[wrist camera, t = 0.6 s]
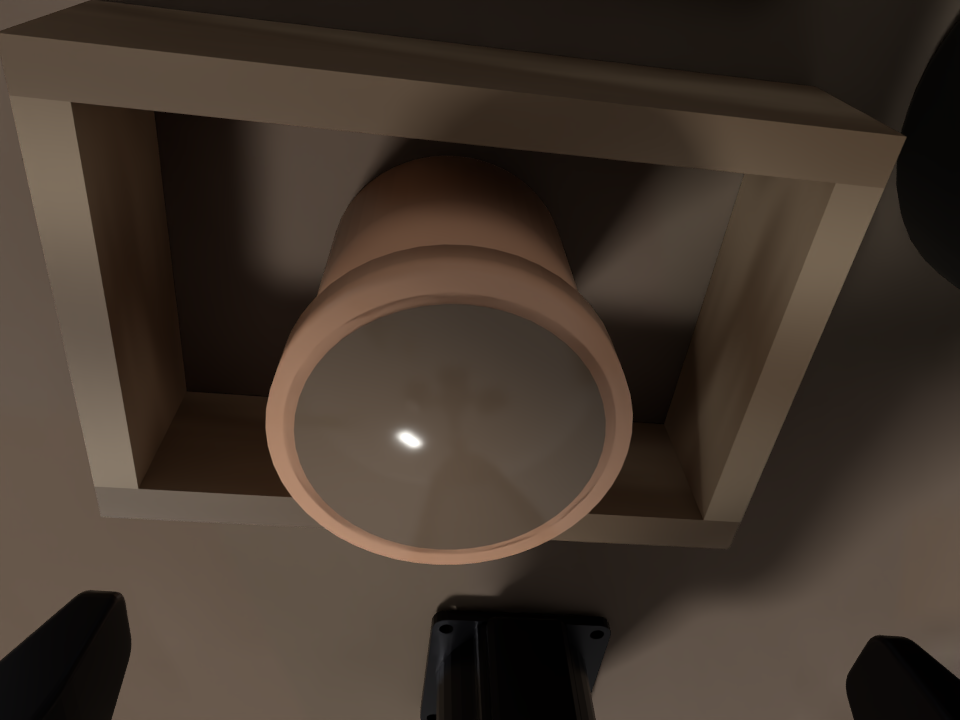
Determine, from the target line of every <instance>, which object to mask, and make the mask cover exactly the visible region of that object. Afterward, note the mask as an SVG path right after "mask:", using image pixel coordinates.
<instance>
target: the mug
mask: <svg viewBox="0 0 960 720" xmlns="http://www.w3.org/2000/svg"><path fill="white" fill-rule="evenodd" d="M901 134H903V135H905V136H906V140H905V142H904V144H903V147H902V149H901V151H900V154H899V156H898V158H897V174H896V186H897V192H898V198H899V204H900V210H901V214H902V218H903V222H904V224H905V227H906V229H907V232H908V235H909V237H910V240H911V241H912V243H913V244H914V246H915V247H916V249H917V250H918V252H919V253H920V254H921V256H922V257H923V258H924V259H925V260H926V261H927V262H928V263H929V264H930V265H931V266H932V267H933V268H934V269H935V270H936V271H937V272H938V273H939V274H941V275H942V276H943V277H944V278H946V279H947V280H948V281H950V282H951V283H952V284H953V285H955V286H956V287H957V288H958V289H960V20H959V21H958V22H957V23H956V24H955V26H954V27H953V28H952V30H951V31H950V32H949V34H948V35H947V37H946V38H945V39H944V41H943V43H942V44H941V46H940V47H939V49H938V50H937V52H936V54H935V55H934V57H933V58H932V60H931V61H930V63H929V65H928V66H927V68H926V70H925V72H924V75H923V77H922V79H921V81H920V83H919V85H918V87H917V89H916V91H915V93H914V96H913V98H912V101H911V103H910V106H909V109H908V112H907V115H906V118H905V121H904V124H903V127H902V132H901Z"/></svg>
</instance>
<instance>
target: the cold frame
mask: <svg viewBox="0 0 960 720" xmlns="http://www.w3.org/2000/svg"><path fill="white" fill-rule="evenodd" d="M0 56H1V60H2V65H3V70H4V74H5V79H6V83H7V88H8V92H9V97H10V102H11V106H12V111H13V115H14V120H15V125H16V129H17V134H18V138H19V143H20V147H21V152H22V157H23V161H24V166H25V170H26V175H27V180H28V184H29V189H30V193H31V198H32V203H33V207H34V212H35V216H36V221H37V225H38V230H39V235H40V239H41V244H42V248H43V253H44V258H45V262H46V267H47V271H48V276H49V281H50V285H51V290H52V294H53V299H54V303H55V308H56V313H57V317H58V322H59V326H60V331H61V336H62V340H63V345H64V349H65V354H66V358H67V363H68V368H69V372H70V377H71V381H72V386H73V391H74V395H75V400H76V404H77V409H78V414H79V418H80V423H81V427H82V432H83V436H84V441H85V446H86V450H87V455H88V459H89V464H90V469H91V473H92V478H93V482H94V487H95V492H96V496H97V501H98V505H99V510H100V514H101V517H111V518H131V519H150V520H170V521H189V522H209V523H228V524H248V525H267V526H287V527H306V528H324V527H323V526H321V525H320V524H319V523H318V522H316V521H315V520H314V519H313V518H312V517H311V516H310V515H308V514H307V513H306V512H305V511H304V510H303V509H302V508H301V507H300V505H299V504H298V503H297V502H296V501H295V500H294V499H293V498H292V496H291V495H290V493H289V492H288V490H287V489H286V487H285V486H284V484H283V483H282V481H281V479H280V477H279V475H278V473H277V471H276V469H275V467H274V465H273V462H272V458H271V455H270V452H269V448H268V443H267V435H266V428H265V427H266V407H267V402H268V398H269V397H261V396H246V395H232V394H217V393H203V392H188V391H187V389H186V380H185V372H184V363H183V355H182V346H181V337H180V329H179V320H178V312H177V303H176V294H175V286H174V277H173V269H172V260H171V252H170V243H169V234H168V226H167V217H166V209H165V200H164V191H163V183H162V174H161V166H160V157H159V149H158V140H157V131H156V123H155V114H154V111H161V112H170V113H180V114H189V115H199V116H208V117H217V118H227V119H236V120H246V121H255V122H265V123H274V124H283V125H293V126H302V127H312V128H321V129H330V130H340V131H349V132H359V133H368V134H377V135H387V136H396V137H406V138H415V139H425V140H434V141H443V142H453V143H462V144H472V145H481V146H490V147H500V148H509V149H519V150H528V151H538V152H547V153H556V154H566V155H575V156H585V157H594V158H603V159H613V160H622V161H632V162H641V163H651V164H660V165H669V166H679V167H688V168H698V169H707V170H717V171H726V172H735V173H745V174H744V177H743V180H742V183H741V186H740V189H739V192H738V195H737V198H736V202H735V205H734V208H733V211H732V214H731V217H730V220H729V223H728V226H727V230H726V233H725V236H724V239H723V242H722V245H721V248H720V251H719V255H718V258H717V261H716V264H715V267H714V270H713V273H712V276H711V279H710V283H709V286H708V289H707V292H706V295H705V298H704V301H703V304H702V307H701V311H700V314H699V317H698V320H697V323H696V326H695V329H694V332H693V336H692V339H691V342H690V345H689V348H688V351H687V354H686V357H685V360H684V364H683V367H682V370H681V373H680V376H679V379H678V382H677V385H676V388H675V392H674V395H673V398H672V401H671V404H670V407H669V410H668V413H667V416H666V420H665V423H664V424H653V423H639V422H632V435H631V440H630V445H629V449H628V453H627V455H626V458H625V461H624V463H623V466H622V469H621V470H620V472H619V474H618V476H617V478H616V479H615V481H614V483H613V485H612V486H611V487H610V489H609V490H608V491H607V493H606V494H605V495H604V497H603V498H602V499H601V501H600V502H599V503H598V504H597V505H596V506H595V507H594V508H593V509H592V510H591V511H590V512H589V513H588V514H587V515H586V516H584V517H583V518H582V519H581V520H579V521H578V522H577V523H576V524H574V525H573V526H572V527H570V528H569V529H567V530H566V531H564V532H563V533H561V534H559V535H558V536H556V537H555V538H553V539H551V540H560V541H579V542H599V543H618V544H638V545H657V546H677V547H696V548H716V549H729V548H730V546H731V543H732V541H733V539H734V537H735V534H736V532H737V530H738V527H739V525H740V523H741V520H742V518H743V516H744V513H745V511H746V509H747V506H748V504H749V502H750V499H751V497H752V495H753V492H754V490H755V488H756V485H757V483H758V481H759V479H760V476H761V474H762V472H763V469H764V467H765V465H766V462H767V460H768V458H769V455H770V453H771V451H772V448H773V446H774V444H775V441H776V439H777V437H778V434H779V432H780V430H781V427H782V425H783V423H784V420H785V418H786V416H787V414H788V411H789V409H790V407H791V404H792V402H793V400H794V397H795V395H796V393H797V390H798V388H799V386H800V383H801V381H802V379H803V376H804V374H805V372H806V369H807V367H808V365H809V362H810V360H811V358H812V356H813V353H814V351H815V349H816V346H817V344H818V342H819V339H820V337H821V335H822V332H823V330H824V328H825V325H826V323H827V321H828V318H829V316H830V314H831V311H832V309H833V307H834V304H835V302H836V300H837V298H838V295H839V293H840V291H841V288H842V286H843V284H844V281H845V279H846V277H847V274H848V272H849V270H850V267H851V265H852V263H853V260H854V258H855V256H856V253H857V251H858V249H859V246H860V244H861V242H862V239H863V237H864V235H865V233H866V230H867V228H868V226H869V223H870V221H871V219H872V216H873V214H874V212H875V209H876V207H877V205H878V202H879V200H880V198H881V195H882V193H883V191H884V188H885V186H886V184H887V181H888V179H889V177H890V175H891V172H892V170H893V168H894V165H895V163H896V161H897V158H898V156H899V154H900V151H901V149H902V147H903V144H904V142H905V140H906V136H905V135H903V134H901V133H899V132H897V131H895V130H894V129H892V128H890V127H888V126H886V125H885V124H883V123H881V122H879V121H877V120H875V119H874V118H872V117H870V116H868V115H866V114H864V113H863V112H861V111H859V110H857V109H855V108H853V107H852V106H850V105H848V104H846V103H844V102H843V101H841V100H839V99H837V98H835V97H833V96H832V95H830V94H828V93H826V92H824V91H822V90H821V89H819V88H817V87H815V86H807V85H799V84H790V83H782V82H774V81H765V80H757V79H749V78H740V77H732V76H724V75H715V74H707V73H699V72H690V71H682V70H674V69H665V68H657V67H649V66H641V65H632V64H624V63H616V62H607V61H599V60H591V59H582V58H574V57H566V56H557V55H549V54H541V53H532V52H524V51H516V50H507V49H499V48H491V47H482V46H474V45H466V44H457V43H449V42H441V41H432V40H424V39H416V38H407V37H399V36H391V35H382V34H374V33H366V32H357V31H349V30H341V29H332V28H324V27H316V26H307V25H299V24H291V23H283V22H274V21H266V20H258V19H249V18H241V17H233V16H224V15H216V14H208V13H199V12H191V11H183V10H174V9H166V8H158V7H149V6H141V5H133V4H124V3H116V2H108V1H99V0H90V1H87V2H84V3H81V4H78V5H75V6H72V7H69V8H66V9H63V10H60V11H57V12H54V13H51V14H49V15H46V16H43V17H40V18H37V19H34V20H31V21H28V22H25V23H22V24H19V25H16V26H13V27H10V28H7V29H4V30H2V31H0Z"/></svg>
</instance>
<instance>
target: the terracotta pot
mask: <svg viewBox="0 0 960 720" xmlns="http://www.w3.org/2000/svg"><path fill="white" fill-rule="evenodd" d="M632 422H633V411H632V403H631V395H630V392H629V388H628V385H627V382H626V378H625V375H624V372H623V370H622V367H621V364H620V362H619V359H618V356H617V354H616V351H615V348H614V346H613V343H612V340H611V338H610V336H609V334H608V332H607V330H606V328H605V326H604V324H603V322H602V320H601V319H600V318H599V316H598V315H597V313H596V312H595V310H594V309H593V307H592V306H591V305H590V304H589V303H588V302H587V301H586V300H585V299H584V298H583V296H582V295H581V294H580V293H579V292H578V290H577V287H576V284H575V281H574V278H573V275H572V272H571V269H570V266H569V263H568V260H567V257H566V254H565V251H564V248H563V245H562V242H561V239H560V236H559V233H558V230H557V227H556V225H555V222H554V220H553V218H552V216H551V214H550V212H549V211H548V209H547V208H546V206H545V205H544V203H543V202H542V200H541V199H540V198H539V197H538V196H537V195H536V193H535V192H534V191H533V190H532V189H531V188H530V187H529V186H527V185H526V184H525V183H524V182H523V181H521V180H520V179H519V178H517V177H516V176H514V175H513V174H511V173H509V172H508V171H506V170H504V169H502V168H500V167H498V166H495V165H493V164H491V163H488V162H484V161H481V160H478V159H473V158H468V157H462V156H433V157H425V158H421V159H416V160H412V161H409V162H406V163H403V164H401V165H398V166H396V167H394V168H392V169H390V170H388V171H386V172H384V173H382V174H381V175H379V176H378V177H377V178H375V179H374V180H372V181H371V182H370V183H368V184H367V185H366V186H365V187H364V188H363V189H362V190H361V191H360V192H359V193H358V194H357V195H356V197H355V198H354V199H353V200H352V202H351V203H350V204H349V206H348V207H347V209H346V211H345V213H344V214H343V216H342V218H341V220H340V223H339V225H338V228H337V230H336V233H335V237H334V240H333V243H332V247H331V250H330V253H329V257H328V260H327V263H326V267H325V270H324V274H323V277H322V280H321V284H320V287H319V290H318V294H317V297H316V298H314V300H313V301H312V302H311V303H310V304H309V306H308V307H307V308H306V309H305V311H304V312H303V313H302V314H301V315H300V317H299V319H298V321H297V322H296V324H295V326H294V327H293V329H292V331H291V332H290V335H289V337H288V340H287V342H286V345H285V347H284V350H283V353H282V356H281V359H280V362H279V365H278V368H277V370H276V373H275V376H274V379H273V382H272V385H271V388H270V393H269V398H268V402H267V407H266V427H265V428H266V435H267V443H268V448H269V452H270V455H271V458H272V462H273V465H274V467H275V469H276V471H277V473H278V475H279V477H280V479H281V481H282V483H283V484H284V486H285V487H286V489H287V490H288V492H289V493H290V495H291V496H292V498H293V499H294V500H295V501H296V502H297V503H298V504H299V505H300V507H301V508H302V509H303V510H304V511H305V512H306V513H307V514H308V515H310V516H311V517H312V518H313V519H314V520H315V521H316V522H318V523H319V524H320V525H321V526H323V527H324V528H326V529H327V530H329V531H330V532H332V533H333V534H335V535H336V536H338V537H340V538H342V539H344V540H346V541H347V542H349V543H351V544H353V545H355V546H358V547H360V548H363V549H365V550H368V551H370V552H373V553H376V554H379V555H383V556H386V557H390V558H393V559H398V560H403V561H409V562H414V563H424V564H435V565H458V564H470V563H479V562H485V561H490V560H496V559H500V558H504V557H507V556H511V555H515V554H518V553H521V552H523V551H526V550H529V549H531V548H534V547H536V546H539V545H541V544H543V543H545V542H547V541H549V540H551V539H553V538H555V537H556V536H558V535H559V534H561V533H563V532H564V531H566V530H567V529H569V528H570V527H572V526H573V525H574V524H576V523H577V522H578V521H579V520H581V519H582V518H583V517H584V516H586V515H587V514H588V513H589V512H590V511H591V510H592V509H593V508H594V507H595V506H596V505H597V504H598V503H599V502H600V501H601V499H602V498H603V497H604V495H605V494H606V493H607V491H608V490H609V489H610V487H611V486H612V485H613V483H614V481H615V479H616V478H617V476H618V474H619V472H620V470H621V469H622V466H623V463H624V461H625V458H626V455H627V453H628V449H629V445H630V440H631V435H632Z"/></svg>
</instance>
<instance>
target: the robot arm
mask: <svg viewBox="0 0 960 720" xmlns="http://www.w3.org/2000/svg"><path fill="white" fill-rule="evenodd" d="M610 635H611V631H610V627H609V623H608V621H607V620H606V619H605V618H603V617H594V616H570V615H545V614H520V613H496V612H471V611H441V612H438V613H436V614H435V615H434V616H433V618H432V625H431V632H430V640H429V648H428V655H427V663H426V671H425V678H424V686H423V694H422V701H421V714H420V718H421V720H596V718H595V713H594V708H593V702H592V697H591V692H592V689H593V686H594V683H595V680H596V677H597V674H598V671H599V668H600V665H601V662H602V659H603V656H604V653H605V650H606V647H607V644H608V641H609V638H610ZM130 652H131V634H130V628H129V622H128V616H127V610H126V604H125V600H124V597H123V595H122V594H121V593H119V592H112V591H94V590H89V591H84V592H82V593H80V594H78V595H77V596H76V597H74V598H73V599H72V600H71V601H70V602H68V603H67V604H66V605H65V606H64V607H63V608H61V609H60V610H59V611H58V612H57V613H56V614H54V615H53V616H52V617H51V618H50V619H49V620H47V621H46V622H45V623H44V624H43V625H42V626H40V627H39V628H38V629H37V630H36V631H35V632H33V633H32V634H31V635H30V636H29V637H28V638H26V639H25V640H24V641H23V642H22V643H20V644H19V645H18V646H17V647H16V648H15V649H13V650H12V651H11V652H10V653H9V654H8V655H6V656H5V657H4V658H3V659H2V660H1V661H0V720H111V719H112V716H113V712H114V709H115V706H116V702H117V699H118V695H119V692H120V689H121V685H122V682H123V678H124V675H125V672H126V668H127V665H128V661H129V657H130ZM846 692H847V697H848V701H849V704H850V708H851V711H852V714H853V718H854V720H960V679H959V678H957V677H956V676H955V675H954V674H952V673H951V672H950V671H949V670H948V669H946V668H945V667H944V666H943V665H942V664H940V663H939V662H938V661H937V660H936V659H934V658H933V657H932V656H931V655H929V654H928V653H927V652H926V651H925V650H923V649H922V648H921V647H920V646H919V645H917V644H916V643H915V642H913V641H912V640H910V639H908V638H905V637H900V636H884V635H877V636H874V637H872V638H871V639H870V640H869V641H868V642H867V644H866V646H865V647H864V649H863V650H862V652H861V654H860V655H859V657H858V658H857V660H856V662H855V663H854V665H853V666H852V668H851V670H850V671H849V673H848V675H847V679H846Z"/></svg>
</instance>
